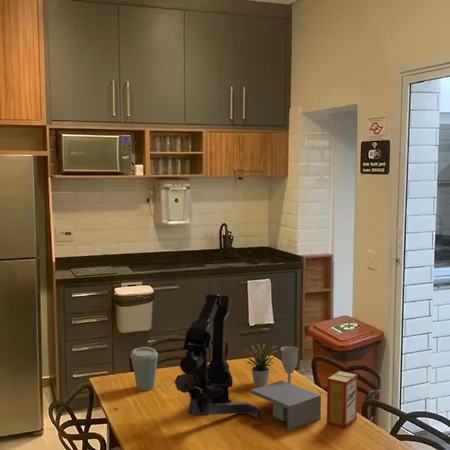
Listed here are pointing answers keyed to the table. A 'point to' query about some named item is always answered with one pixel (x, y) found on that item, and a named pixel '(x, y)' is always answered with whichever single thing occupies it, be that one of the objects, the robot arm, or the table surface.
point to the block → (279, 412)
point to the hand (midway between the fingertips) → (199, 410)
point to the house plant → (261, 366)
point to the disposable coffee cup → (144, 367)
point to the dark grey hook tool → (223, 408)
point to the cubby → (292, 402)
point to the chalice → (289, 359)
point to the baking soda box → (342, 399)
